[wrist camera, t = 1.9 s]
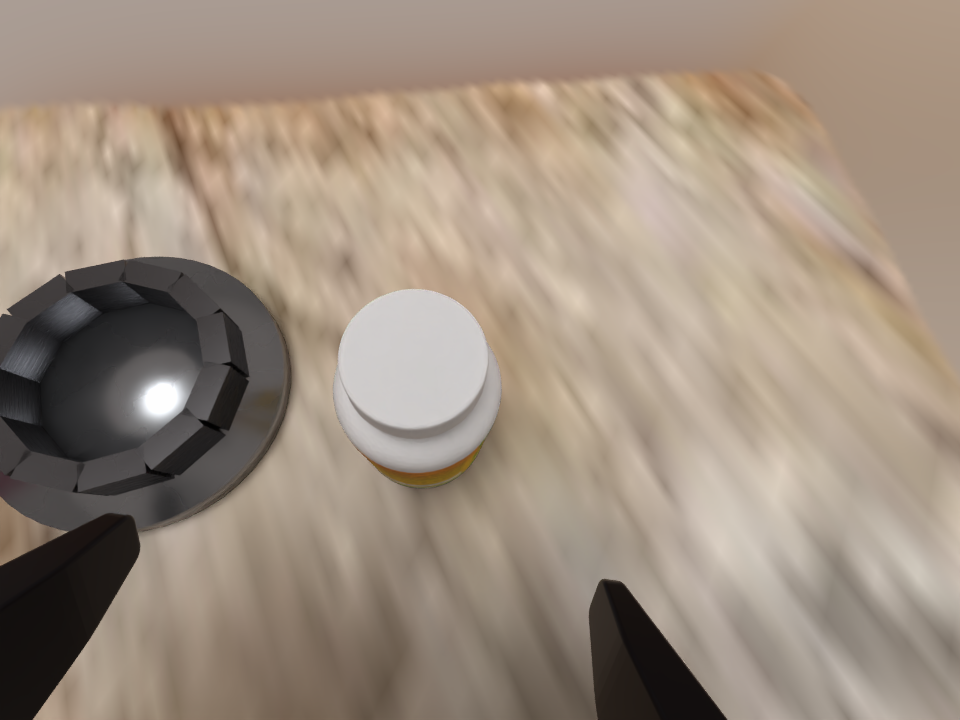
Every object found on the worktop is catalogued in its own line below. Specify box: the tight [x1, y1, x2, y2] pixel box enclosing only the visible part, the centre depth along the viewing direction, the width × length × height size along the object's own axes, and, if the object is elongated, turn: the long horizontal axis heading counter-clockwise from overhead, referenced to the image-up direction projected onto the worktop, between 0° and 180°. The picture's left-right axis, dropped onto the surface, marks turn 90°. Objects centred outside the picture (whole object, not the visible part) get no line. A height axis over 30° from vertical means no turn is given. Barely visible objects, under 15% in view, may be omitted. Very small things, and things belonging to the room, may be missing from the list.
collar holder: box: [0, 257, 291, 532], centre depth 20 cm, size 12×12×3 cm
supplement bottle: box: [333, 289, 502, 488], centre depth 17 cm, size 5×5×10 cm
